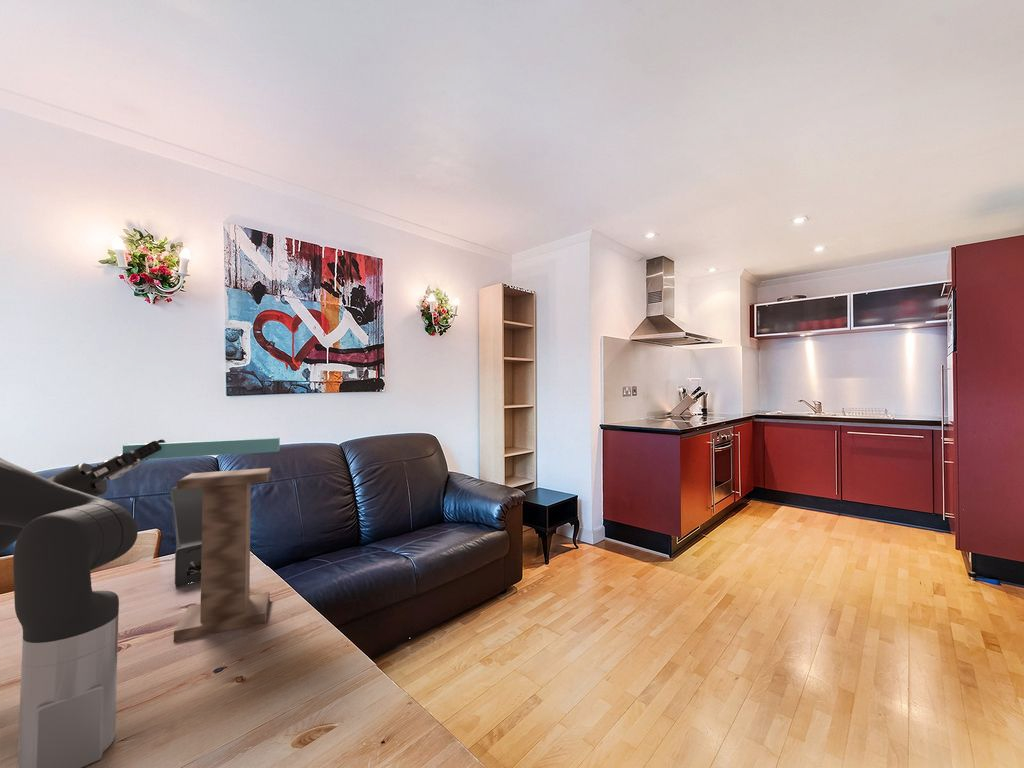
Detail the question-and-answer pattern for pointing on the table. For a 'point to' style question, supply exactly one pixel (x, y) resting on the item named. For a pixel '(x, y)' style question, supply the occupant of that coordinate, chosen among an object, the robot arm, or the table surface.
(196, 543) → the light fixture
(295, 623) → the table surface
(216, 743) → the table surface
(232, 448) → the teal bar
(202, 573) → the walnut stand
